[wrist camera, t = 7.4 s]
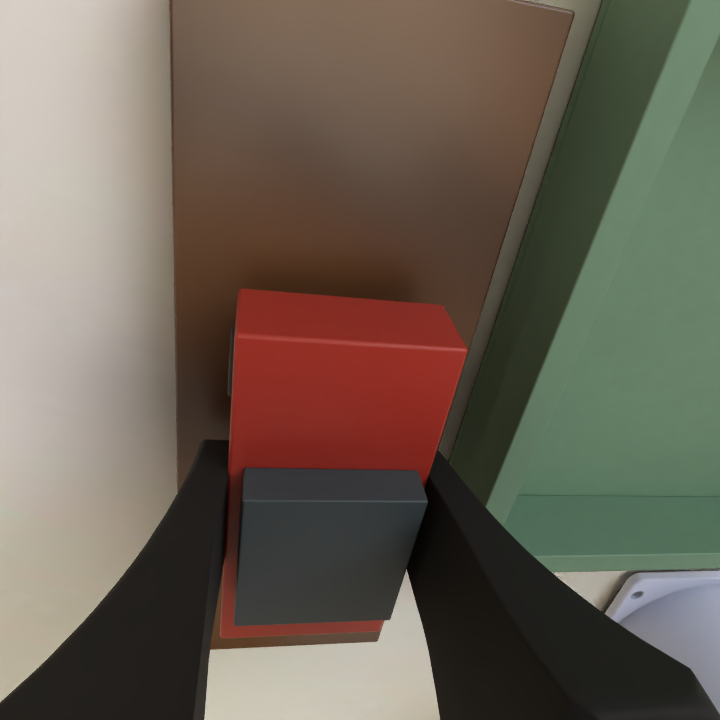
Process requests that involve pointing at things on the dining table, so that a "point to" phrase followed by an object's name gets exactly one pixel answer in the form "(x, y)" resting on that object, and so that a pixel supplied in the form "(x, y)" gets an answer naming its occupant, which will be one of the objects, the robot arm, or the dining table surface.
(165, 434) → the dining table surface
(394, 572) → the toy car
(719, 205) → the tray
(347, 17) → the board
